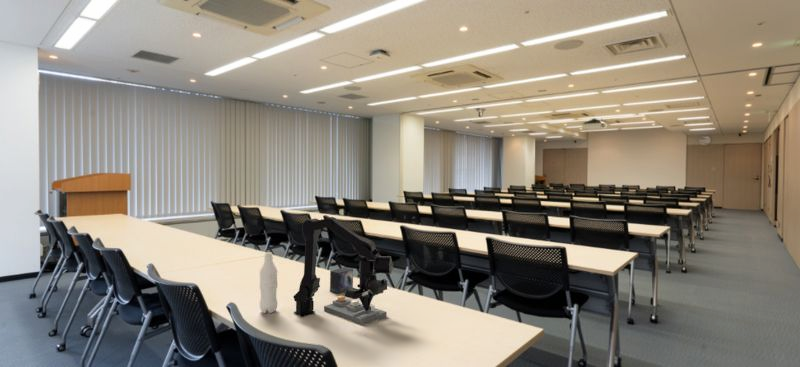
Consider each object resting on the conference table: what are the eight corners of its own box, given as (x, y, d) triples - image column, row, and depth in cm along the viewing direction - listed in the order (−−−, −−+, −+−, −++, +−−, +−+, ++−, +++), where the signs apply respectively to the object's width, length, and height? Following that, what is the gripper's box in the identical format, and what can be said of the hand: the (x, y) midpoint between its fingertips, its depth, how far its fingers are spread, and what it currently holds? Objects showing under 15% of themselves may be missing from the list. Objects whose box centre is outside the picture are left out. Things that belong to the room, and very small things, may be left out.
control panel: (363, 325, 155) (363, 316, 155) (324, 310, 171) (324, 302, 171) (386, 316, 165) (386, 308, 165) (347, 303, 181) (347, 295, 181)
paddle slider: (371, 314, 161) (371, 306, 161) (365, 312, 163) (365, 305, 163) (374, 312, 163) (374, 305, 163) (369, 311, 165) (369, 303, 165)
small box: (338, 294, 195) (338, 272, 195) (329, 291, 199) (329, 270, 199) (353, 289, 203) (353, 268, 203) (344, 286, 207) (344, 266, 207)
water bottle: (271, 315, 166) (271, 255, 165) (256, 313, 167) (256, 254, 166) (280, 309, 173) (280, 251, 172) (265, 308, 174) (265, 250, 173)
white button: (354, 307, 165) (354, 303, 165) (349, 306, 168) (349, 301, 168) (360, 305, 168) (360, 301, 168) (355, 304, 170) (355, 299, 170)
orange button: (340, 303, 171) (340, 298, 171) (335, 301, 174) (335, 296, 174) (346, 301, 174) (346, 296, 174) (341, 299, 176) (341, 295, 176)
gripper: (363, 280, 149) (363, 321, 149) (397, 271, 163) (396, 309, 163) (343, 275, 156) (343, 314, 157) (377, 267, 170) (377, 303, 171)
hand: (366, 310), depth 162 cm, fingers closed
